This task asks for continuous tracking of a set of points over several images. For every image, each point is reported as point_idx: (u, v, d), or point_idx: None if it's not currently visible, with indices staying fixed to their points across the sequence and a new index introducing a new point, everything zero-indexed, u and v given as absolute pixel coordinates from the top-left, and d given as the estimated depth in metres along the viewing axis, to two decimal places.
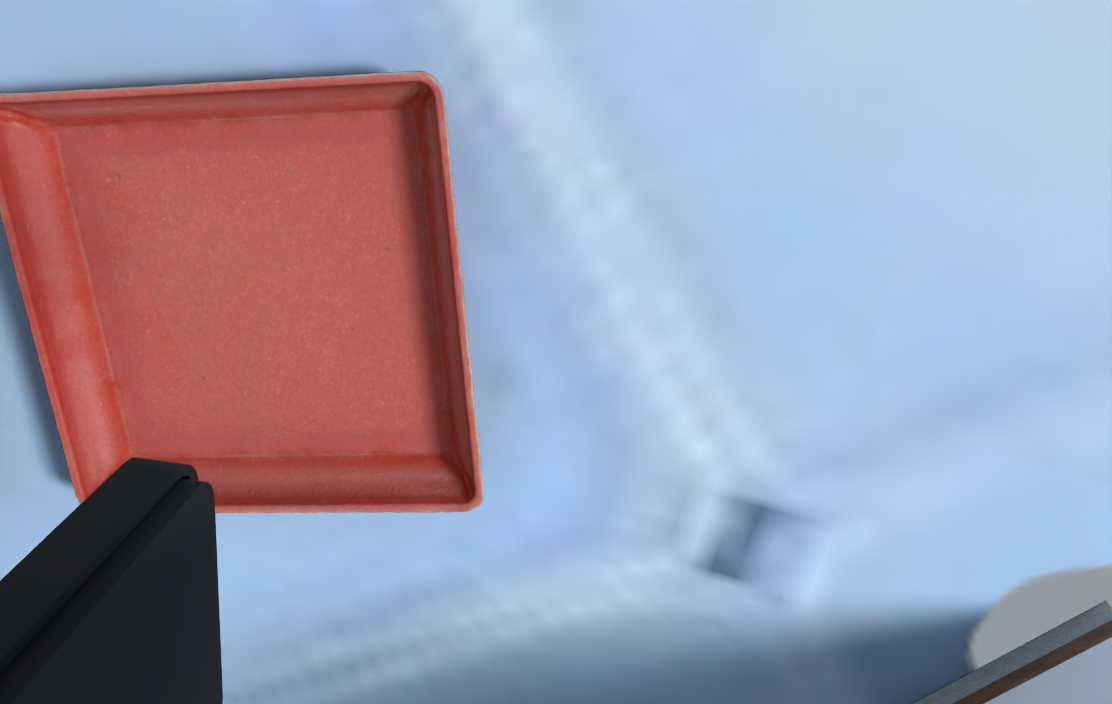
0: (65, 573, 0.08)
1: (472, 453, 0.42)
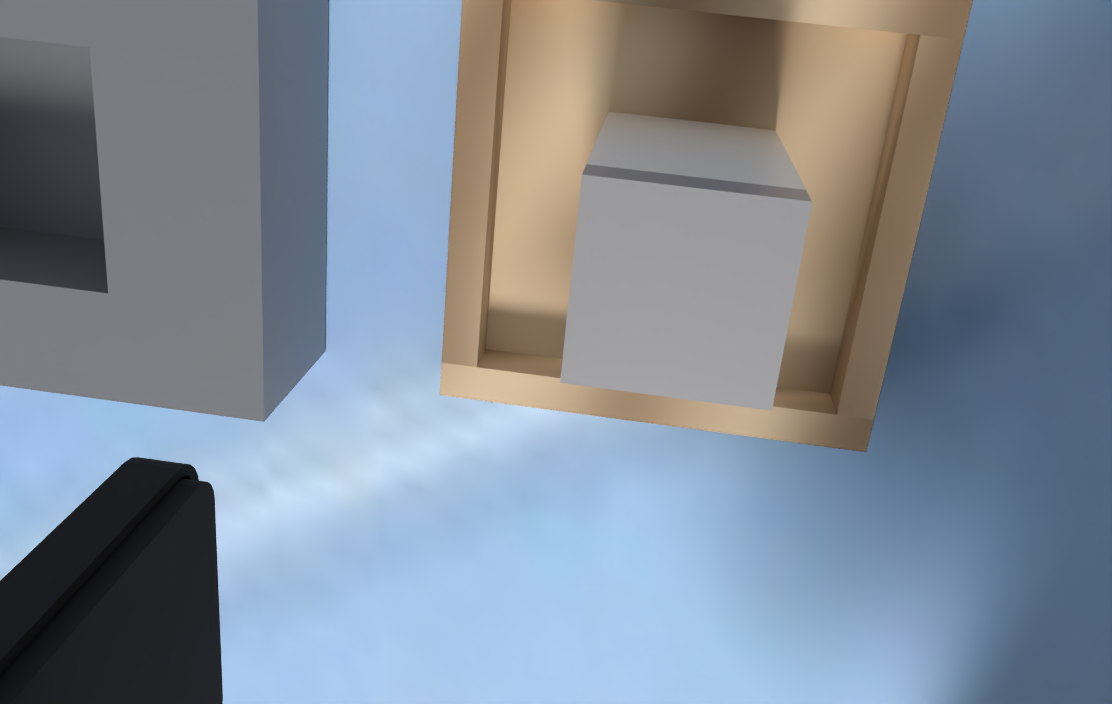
0: (65, 573, 0.08)
1: None
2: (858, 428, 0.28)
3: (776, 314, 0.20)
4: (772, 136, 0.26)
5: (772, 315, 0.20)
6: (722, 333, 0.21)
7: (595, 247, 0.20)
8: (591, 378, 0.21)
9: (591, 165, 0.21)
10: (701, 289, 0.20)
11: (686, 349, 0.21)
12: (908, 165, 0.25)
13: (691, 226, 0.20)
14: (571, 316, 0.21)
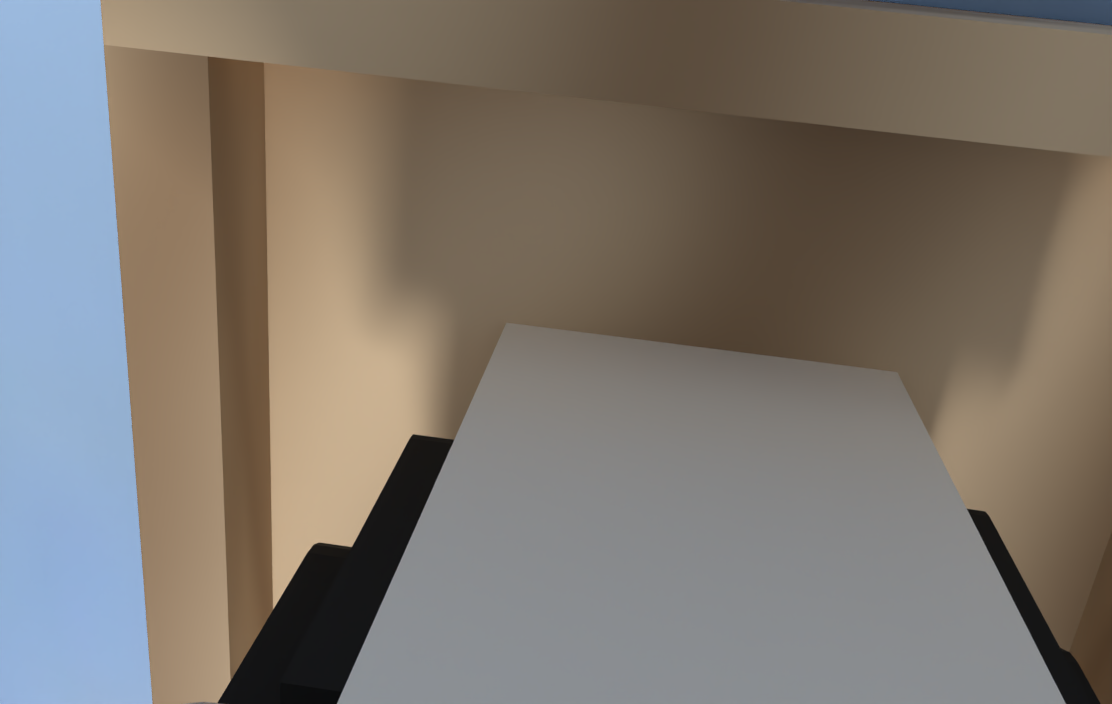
0: (407, 533, 0.09)
1: None
2: None
3: None
4: (899, 407, 0.11)
5: None
6: None
7: None
8: None
9: None
10: None
11: None
12: None
13: None
14: None
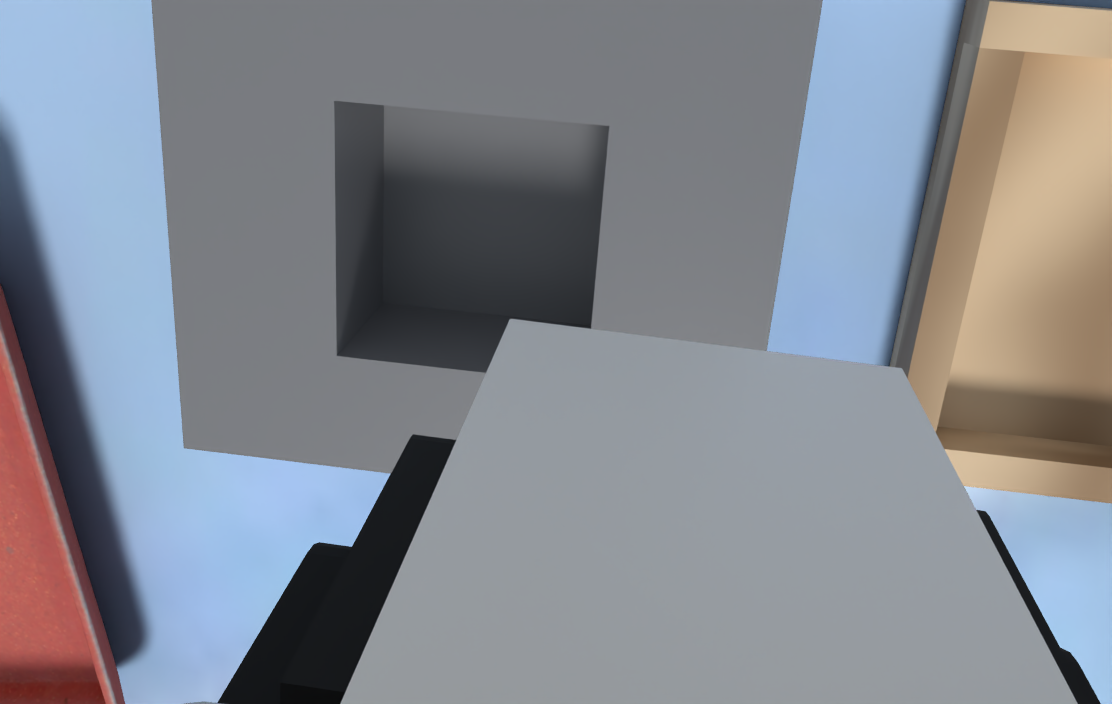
0: (407, 533, 0.09)
1: None
2: None
3: None
4: (904, 403, 0.10)
5: None
6: None
7: None
8: None
9: None
10: None
11: None
12: None
13: None
14: None
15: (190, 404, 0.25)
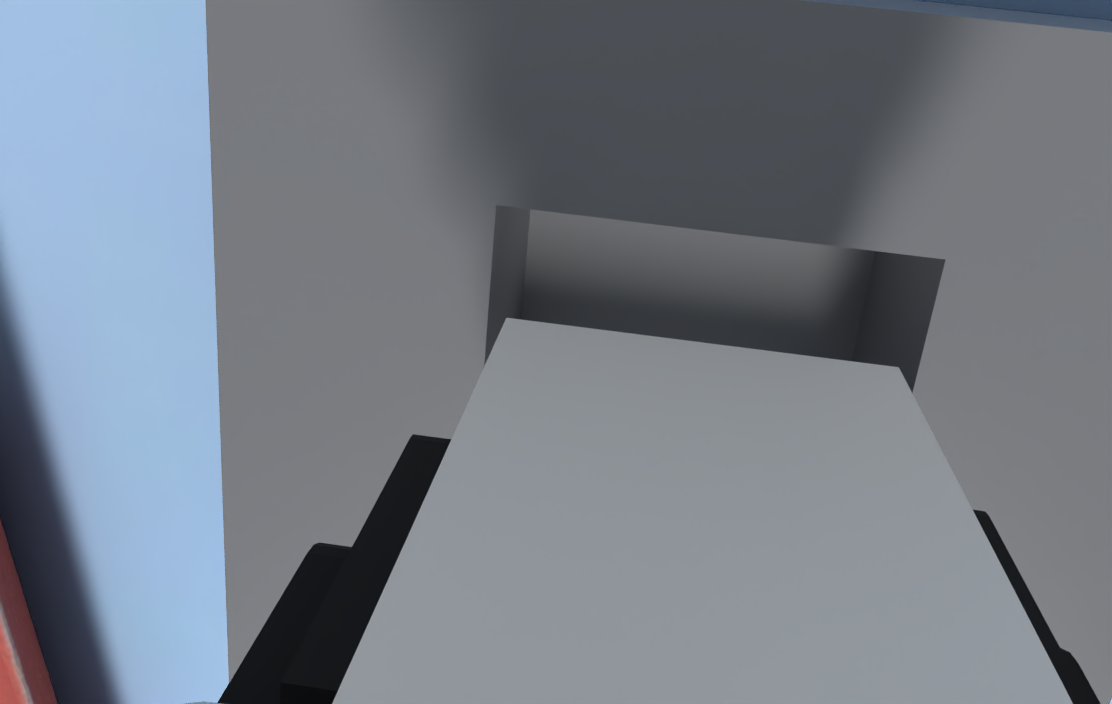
0: (407, 533, 0.09)
1: None
2: None
3: None
4: (900, 402, 0.10)
5: None
6: None
7: None
8: None
9: None
10: None
11: None
12: None
13: None
14: None
15: (241, 631, 0.17)
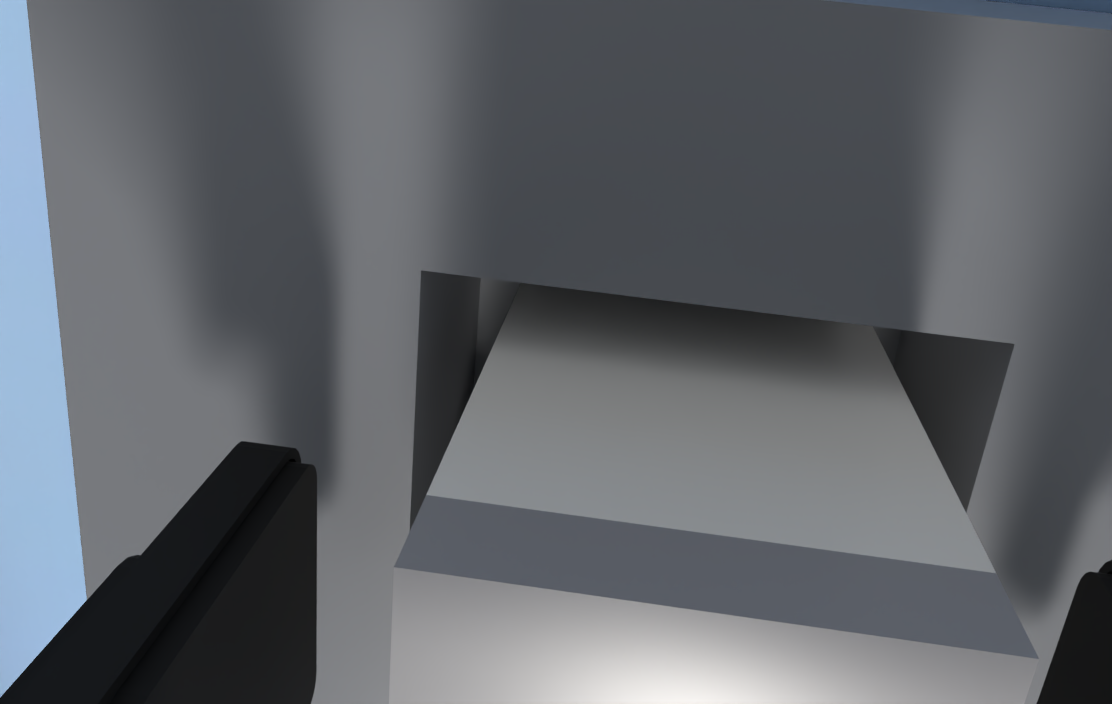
0: (200, 547, 0.08)
1: None
2: None
3: None
4: None
5: None
6: None
7: None
8: None
9: (438, 501, 0.08)
10: None
11: None
12: None
13: (696, 700, 0.07)
14: None
15: None
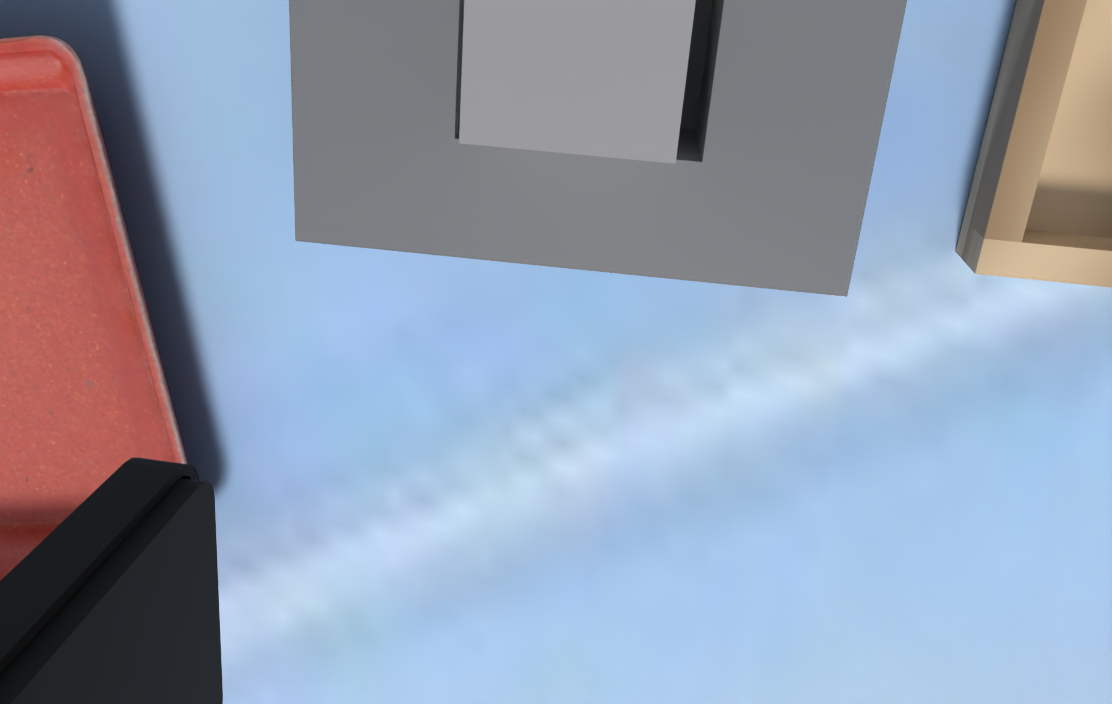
0: (65, 573, 0.08)
1: None
2: None
3: (674, 55, 0.20)
4: None
5: (670, 57, 0.20)
6: (620, 80, 0.20)
7: None
8: (490, 136, 0.21)
9: None
10: (597, 31, 0.20)
11: (585, 99, 0.20)
12: None
13: None
14: (466, 68, 0.20)
15: (304, 194, 0.26)
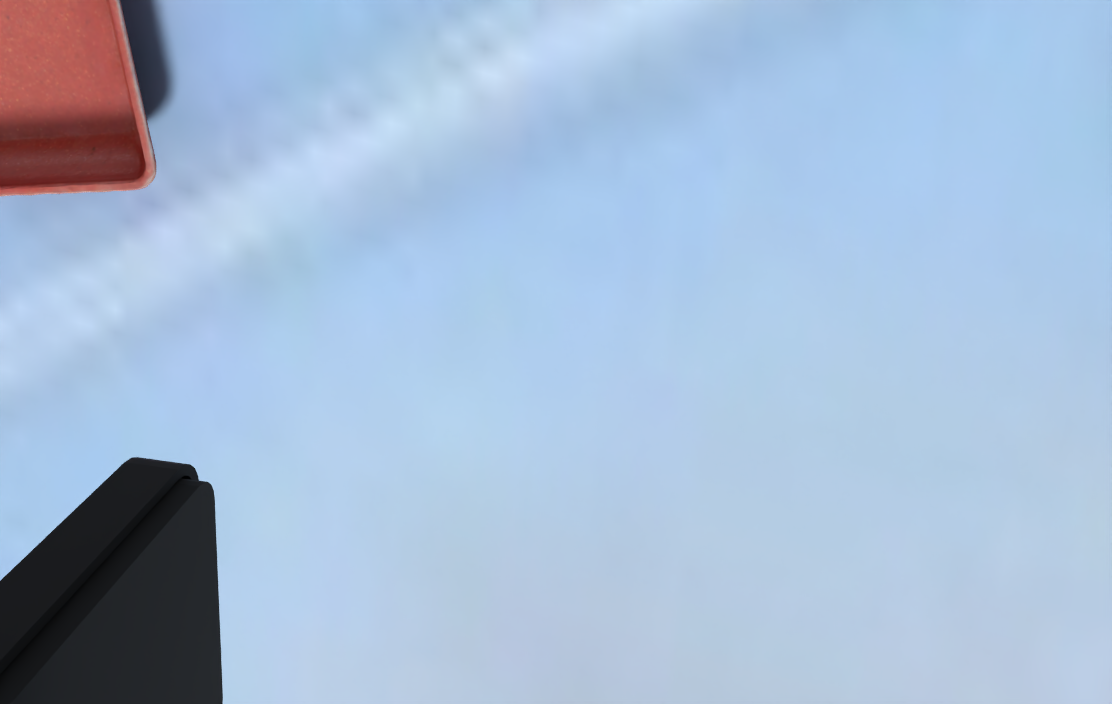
0: (65, 573, 0.08)
1: None
2: None
3: None
4: None
5: None
6: None
7: None
8: None
9: None
10: None
11: None
12: None
13: None
14: None
15: None
